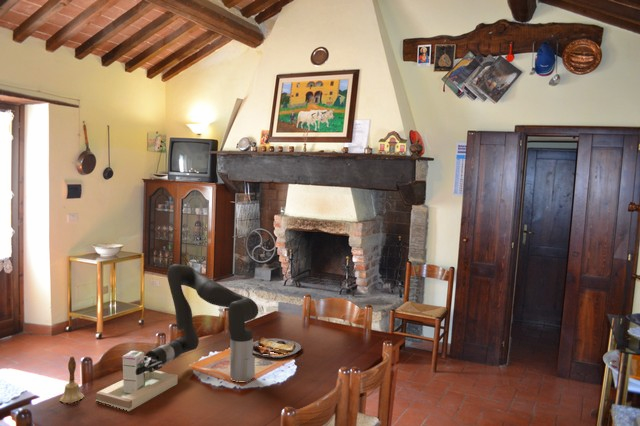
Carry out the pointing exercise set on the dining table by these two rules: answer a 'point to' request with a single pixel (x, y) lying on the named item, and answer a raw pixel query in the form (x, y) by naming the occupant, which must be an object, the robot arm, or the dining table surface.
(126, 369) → the syrup box
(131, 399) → the tray
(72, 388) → the hand bell
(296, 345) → the food plate
